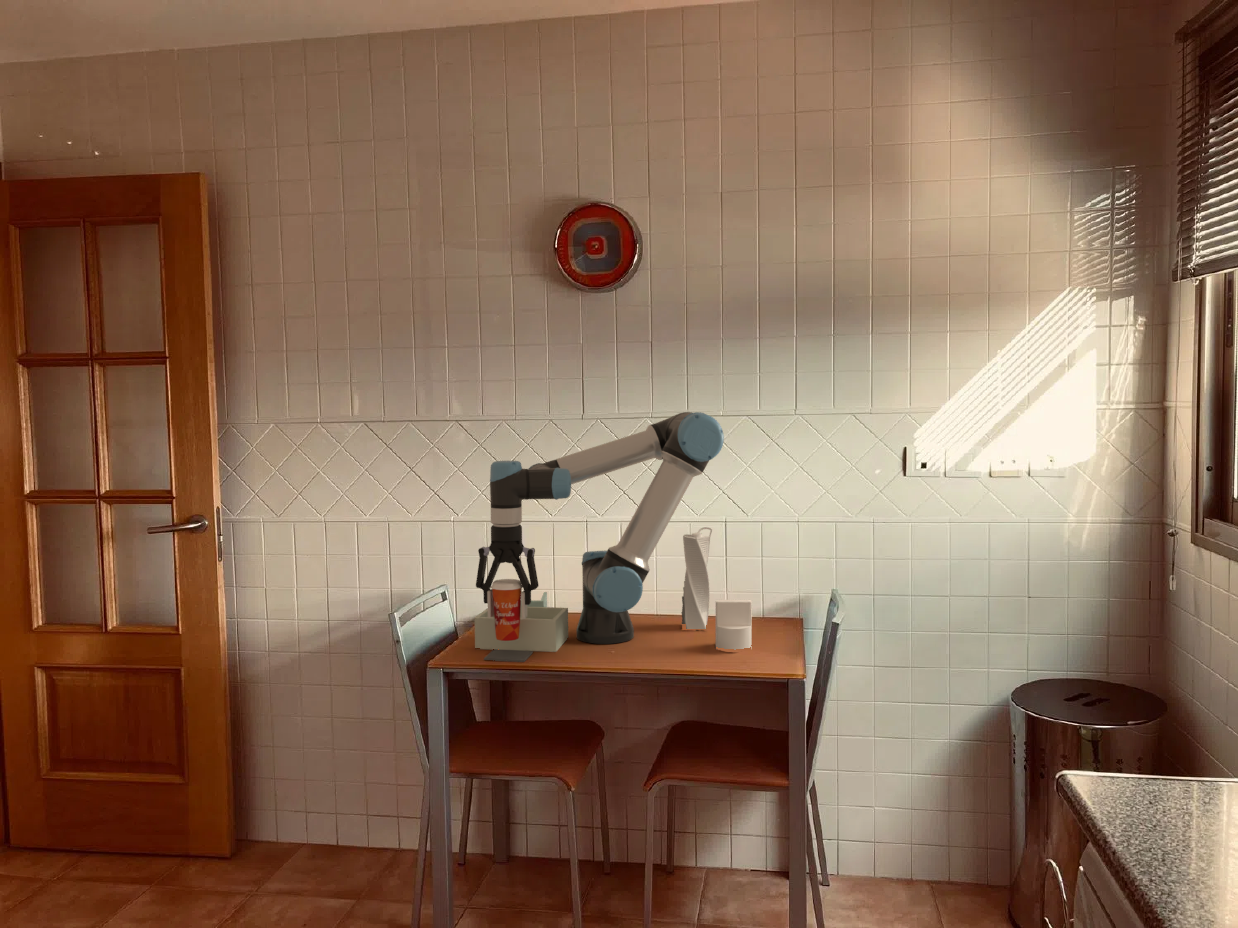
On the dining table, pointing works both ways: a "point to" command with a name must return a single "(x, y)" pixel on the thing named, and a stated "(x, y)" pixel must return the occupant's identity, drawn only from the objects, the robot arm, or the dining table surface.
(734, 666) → the dining table surface
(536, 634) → the crate
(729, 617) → the base with upright slab
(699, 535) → the skyscraper
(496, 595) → the paper cup
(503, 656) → the mat
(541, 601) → the l-shaped corner panel
